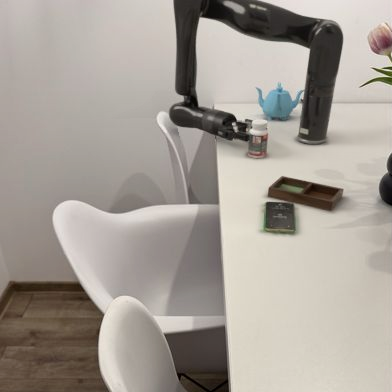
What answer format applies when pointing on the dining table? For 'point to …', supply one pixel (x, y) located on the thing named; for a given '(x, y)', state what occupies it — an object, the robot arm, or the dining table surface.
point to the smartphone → (279, 217)
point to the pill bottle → (258, 139)
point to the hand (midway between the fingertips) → (257, 134)
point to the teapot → (278, 103)
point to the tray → (305, 193)
